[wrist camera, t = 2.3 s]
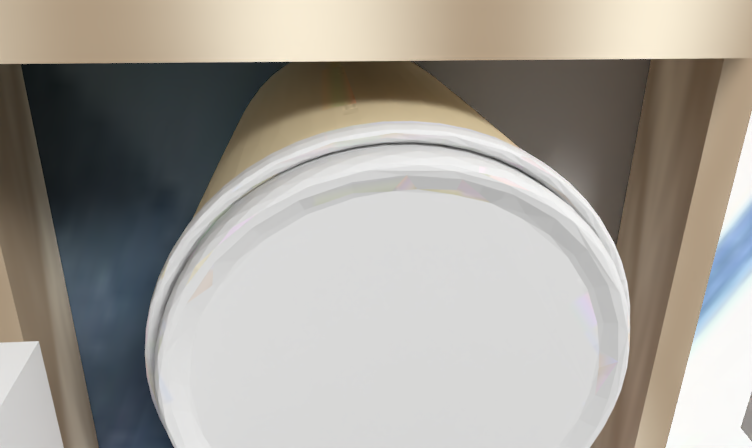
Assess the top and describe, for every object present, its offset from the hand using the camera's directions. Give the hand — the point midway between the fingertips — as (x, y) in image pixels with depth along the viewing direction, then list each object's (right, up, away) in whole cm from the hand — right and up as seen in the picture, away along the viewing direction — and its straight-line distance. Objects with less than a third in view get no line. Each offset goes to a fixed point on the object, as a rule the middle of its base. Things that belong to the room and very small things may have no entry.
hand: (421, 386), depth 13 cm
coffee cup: (-2, +5, +11) cm, 12 cm away
